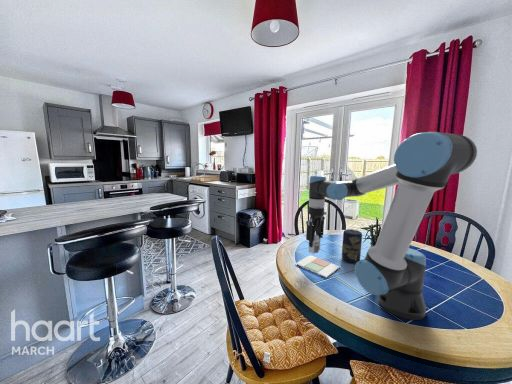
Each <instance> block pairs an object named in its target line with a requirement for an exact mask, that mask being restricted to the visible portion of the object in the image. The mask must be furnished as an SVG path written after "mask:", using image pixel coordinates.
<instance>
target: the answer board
mask: <svg viewBox="0 0 512 384" xmlns="http://www.w3.org/2000/svg"><path fill="white" fill-rule="evenodd" d="M296 264H298V265H300V266H302V267H304V268H306V269H308V270H311V271H313V272H315V273H317V274H320V275H322V276H324V277H326V278H327V277H328V276H329V275H331V274H332V273H333V272H334V271H336V270H337V269H338V270H340V269H339V268H341V266H339V265H337V264H334V263H332V262H330V261H327V260H324V259H322V258H319V257H316V256H313V255H311V254H310V255H308V256H306V257H304V258H303V259H300V260H299V261H297V262H296V263H295V265H296ZM304 268H303V269H304ZM306 269H305V270H306ZM308 270H307V271H308ZM338 270H337V271H338ZM337 271H336V272H337ZM315 273H314V274H315ZM334 273H335V272H334ZM334 273H333V274H334ZM317 274H316V275H317ZM333 274H332V275H333ZM332 275H331V276H332ZM324 277H323V278H324ZM329 277H330V276H329ZM329 277H328V278H329ZM326 278H325V279H326ZM328 278H327V279H328Z"/></svg>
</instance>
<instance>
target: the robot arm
mask: <svg viewBox="0 0 512 384" xmlns="http://www.w3.org/2000/svg"><path fill="white" fill-rule="evenodd" d="M477 156H478V148H477V145H476V144H475V142H474V141H473V140H472V139H471V138H469V137H468V136H466V135H464V134H459V133H447V132H438V131H427V132H419V133H418V132H417V133H414V134H413V135H410V136H409V137H407V138H405V139H404V140H403V141H402V142H400V144H399V145H398V146H397V148H396V149H395V152H394V155H393V163H394V164H392V165H389V166H386V167H383V168H381V169H379V170H375V171H372V172H371V173H368V174H365V175H362V176H360V177H357V178H354V179H352V180H341V181H339V180H338V181H332V180H331V181H330V180H327V179H326V178H327V177H326V176H325V175H321V174H320V175H319V174H317V175H314V174H313V175H311V176H310V177H309V182H308V183H309V184H308V185H309V187H308V188H309V189H308V191H309V192H308V210H307V211H308V215H310V216H309V220H306V221H305V224H306V233H305V238H306V240H307V241H308V253H311V254H313V255H314V254H315V253H314V246H315V241H314V236H315V235H318V236H319V251H321V240H322V239H323V237H324V230H325V229H324V227H325V219H326V217H324V215H325V201H326V200H325V199H326V198H327V199H331V200H333V201H334V200H335V201H342V200H344V199H345V198H351V197H361V196H364V195H366V194H369V193H371V192H375V191H379V190H382V189H386V188H390V187H393V186H397V185H398V186H397V188H396V189H395V190H396V191H395V193H394V196H393V198H392V201H391V203H390V206H389V208H388V211H387V214H386V217H385V219H384V221H383V224H382V227H381V229H380V231H379V236H378V237H377V240H376V243H375V245H374V246H370V247H369V248H368V249H367V252H366V255H365V257H364V258H363V259H360V261H358V262H357V263H355V265H354V273H355V277H356V279H357V282H358V283H359V285H360V286H361V287H362V288H363V289H364V290H365V291H366V292H367V293H369V294H371V295H373V296H377V297H378V298H377V300H378V303H379V305H380V306H381V307H382V308H383V309H384V310H386V311H387V312H388V313H390V314H391V315H394V316H396V317H398V318H401V319H405V320H408V321H409V320H410V321H419V320H420V321H421V320H423V319H424V318H425V317H426V314H427V307H426V302H425V299H424V296H423V287H424V281H425V272H426V267H427V257H426V255H425V254H424V253H422V252H420V251H418V250H416V249H413V248H410V245H411V244H412V242H413V239H414V237H415V235H416V233H417V231H418V228H419V226H420V224H421V222H422V220H423V217H424V215H425V213H426V211H427V210H428V209H427V208H428V207H429V205H430V203H431V200H432V198H433V196H434V193H435V192H437V191H440V190H442V189H444V188H445V187H446V185H447V183H448V182H449V181H448V180H449V178H450V176H451V175H455V174H459V173H461V172H464V171H465V170H467V169H468V168H469V167H471V166H472V165H473V164H474V162H475V160H476V159H477Z"/></svg>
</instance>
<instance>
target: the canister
mask: <svg viewBox="0 0 512 384" xmlns="http://www.w3.org/2000/svg"><path fill="white" fill-rule="evenodd" d="M342 232H343V234H342V245H341V247H342V248H341V258H342V260H343V261H345V262H347V263H352V264H356V263H357V262H358V261H360V260H361V255H362V254H361V253H362V240H363V233H362V232H361V231H360V230H357V229H353V228H351V229H350V228H349V229H344V230H343V231H342Z"/></svg>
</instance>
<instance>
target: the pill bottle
mask: <svg viewBox="0 0 512 384" xmlns="http://www.w3.org/2000/svg"><path fill="white" fill-rule="evenodd" d="M314 241H315V246H314V254H318V253H319V252H320V250H319V236H318V235H316V234H315V236H314Z"/></svg>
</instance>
